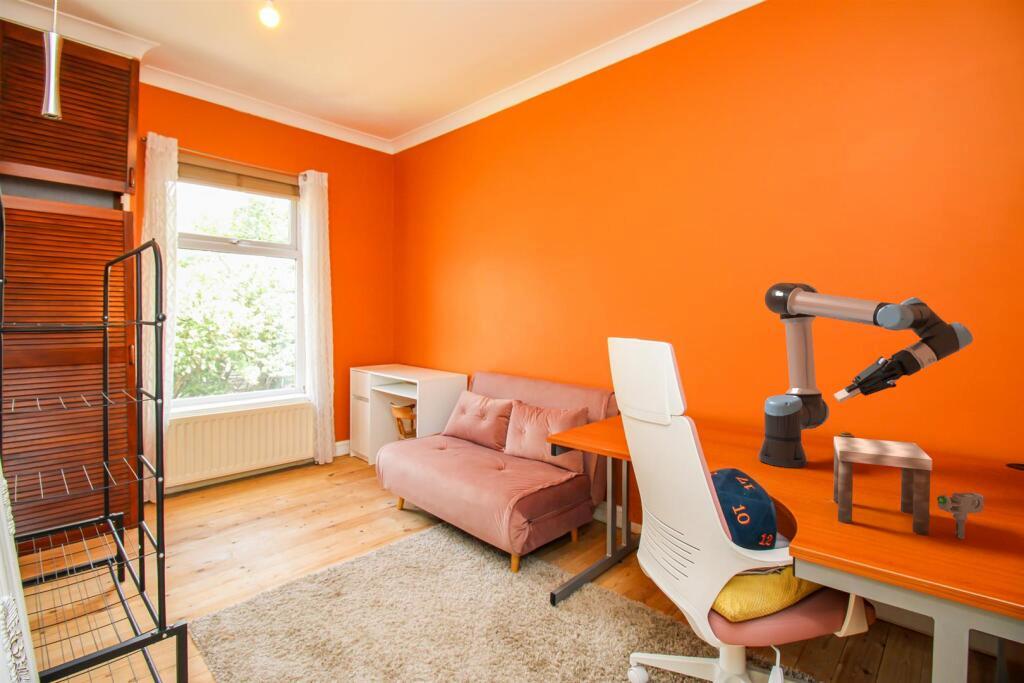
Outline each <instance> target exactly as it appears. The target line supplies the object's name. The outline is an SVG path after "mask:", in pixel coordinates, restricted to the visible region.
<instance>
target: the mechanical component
mask: <svg viewBox="0 0 1024 683" xmlns="http://www.w3.org/2000/svg"><path fill="white" fill-rule="evenodd" d="M936 500H937V506H938V509H939V510H941V511H944V512H947V513H950V514H952V518H954V519H955V527H954V528H955V530H954V531H955V532H954V535H955V537H956V538H958V539H960V540H965V531H966V530H965V527H966V526H965V525H966V524H965V522H966V521H968V520H969V518H968V514H980V513H981V512H983V510H984V504H985V496H983V495H982V494H978V493H975V492H952V493H951V496H950V497H949V496H948V495H946V494H945V495H944V494H943V495H942V494H941V495H939V496H937V498H936Z"/></svg>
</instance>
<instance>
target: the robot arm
mask: <svg viewBox="0 0 1024 683" xmlns="http://www.w3.org/2000/svg"><path fill="white" fill-rule="evenodd" d="M764 303H765V306H766V308H767V309H768V310H769V311H770V312H772V313H773V314H777V315H779V320H780V322H781V323H782V324H784V326H785V341H786V354H787V365H788V366H787V367H788V370H787V371H788V382H789V388H788V389H787V391H785V394H780V395H778V394H777V395H771V396H769V397H767V398H766V400H765V401H764V407H763V408H764V438H763V442H762V444H761V447H760V449H759V452H758V460H759V461H760V462H761V461H762V463H763V462H764V464H766V463H767V464H766V465H769V464H770V466H774V465H775V467H780V466H782V467H781V468H802V467H803V466H804V467H806V466H807V464H808V459H807V455H806V453H805V448H804V446H803V443H802V431H804V430H812V429H816V428H818V427H820V426H822V425H823V424H825V423H826V422H827V420H828V418H829V416H830V408H829V405H828V402H826V401H825V400H824V399H823V394H822V391H821V390H820V389H819V388H818V386H817V379H816V378H817V377H816V365H815V354H814V352H815V351H814V341H813V328H812V326H813V325H812V324H813V322H814V321H815V320H816V317H821V318H827V319H833V320H838V321H845V322H850V323H857V324H862V325H868V326H872V327H873V326H874V327H879V328H883V329H885V330H889V331H895V332H896V331H904V330H905V331H906V330H907V331H908V330H909V331H910V330H911V331H912V332H913V333H914V334H915V335H916V336H918V338H920V340H918V341H915V342H913V343H912V344H910V345H908V346H906V347H905V348H904V349H901V350H899V351H897V352H895V353H893V354H891V357H890V358H888V359H887V358H885V357H884V356H879V357H878V359H876V361H875V362H873V363H871V364H870V365H869V366H868V367H866V368H865V369H863V370H862V371H860V372H859V373H858V374H857V375H855V376H854V378H853V379H852V380H851V384H849V385H848V386H846V387H844V388H843V389H841V390H839V391H837V392H836V393H834V394H833V396H834V398H835V399H836V400H837V401H838V402H839V403H843V402H844V401H846V400H849V399H851V398H854V397H855V396H857V395H859V394H861V395H863V396H864V397H868V396H869V395H872V394H876V393H878V392H881V391H884V390H886V389H891V388H896V387H897V384H896V381H898V380H900V379H901V378H902V377H903V376H907V377H908V376H910V377H911V376H912V375H914V374H916V373H919V372H920V371H921V370H922V369H925V368H927V367H929V366H930V365H933V364H934V363H938V362H939V361H941V360H943V359H946V358H947V357H949V356H951V355H953V354H955V353H957V352H960V351H961V350H963V349H964V348H965V347H967V346H969V345H971V344H972V343H973V340H974V337H973V334H972V332H971V331H970V330H969V329H968V327H966V325H963V324H962V323H960V322H952V323H947V322H946V321H945V320H943V319H942V318H941V317H940V316H939V315H938V314H937V313H936V312H935V311H934V310H932V309H931V307H929V305H928V304H927V303H926V302H924V301H923V300H921V298H918V297H914V296H913V297H911V298H908V299H906V300H904V301H902V302H901V303H893V302H884V301H878V300H877V301H876V300H869V299H863V298H856V297H848V296H847V297H846V296H841V295H840V296H839V295H833V294H827V293H826V294H825V293H819V291H818V290H817V289H816V288H815V287H814V286H812V285H809V284H806V283H802V282H799V283H798V282H778V283H775V284H773V285H772V286H770V287H769V288H768V289H767V290H766V292H765V295H764ZM804 467H803V468H804Z"/></svg>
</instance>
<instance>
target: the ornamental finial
mask: <svg viewBox="0 0 1024 683" xmlns="http://www.w3.org/2000/svg"><path fill="white" fill-rule="evenodd" d="M836 437H848V438H856V437H855V435H854V434H853V433H851V432H850V431H845V430H843V431H842V432H840V433H839V434H837V435H836ZM834 448H835V447H834V446H833V449H834Z"/></svg>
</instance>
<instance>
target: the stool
mask: <svg viewBox="0 0 1024 683" xmlns="http://www.w3.org/2000/svg"><path fill="white" fill-rule="evenodd" d="M834 447H835V450H836V453H837V456H838V458H839V475H838V502H837V521H838V522H840V523H843V524H852V523H853V500H854V499H853V495H854V494H853V493H854V492H853V491H854V490H853V485H854V463H859V464H868V465H875V466H877V465H878V466H885V467H886V466H889V467H895V468H896V467H898V468H900V470H901V471H900V472H901V474H900V512H901V513H903V512H904V514H907V513H908V514H909V515H912V533H914V534H916V535H919V536H929V535H930V509H931V508H930V502H931V471H933V459H932V458H931V457H930V456H929V455H928V454H927V453H926V452H925V451H924V450H923V449H922V448H920V446H919V445H917V443H915V442H904V441H903V442H902V441H893V440H883V439H882V440H881V439H869V438H859V437H858V438H856V437H855V438H848V437H837V435H836V436H833V448H834ZM908 514H907V515H908Z"/></svg>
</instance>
